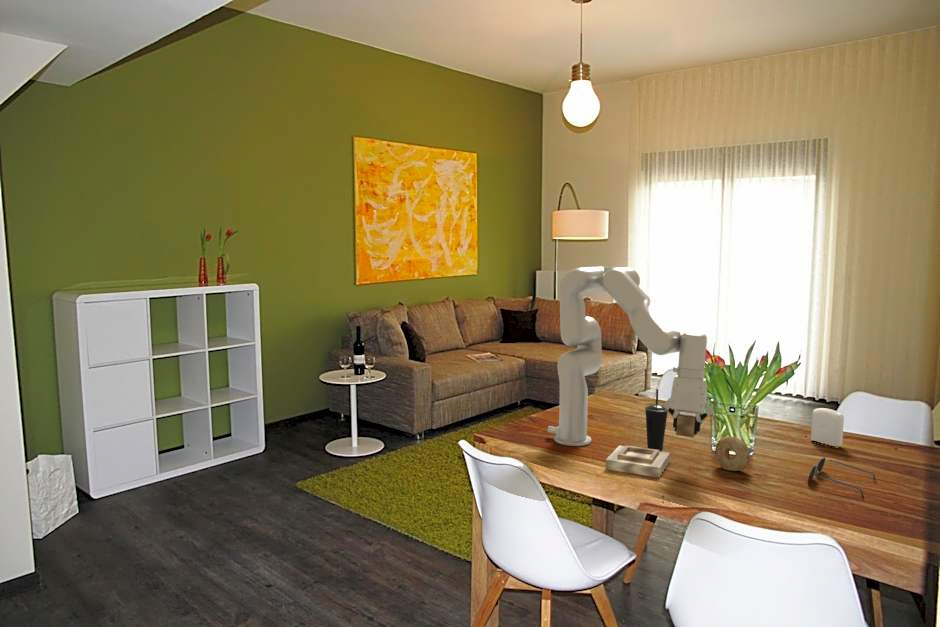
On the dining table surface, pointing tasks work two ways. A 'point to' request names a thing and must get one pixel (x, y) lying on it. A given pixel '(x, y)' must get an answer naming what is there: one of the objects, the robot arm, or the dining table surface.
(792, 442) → the dining table surface
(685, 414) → the walnut block
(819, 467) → the sunglasses
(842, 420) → the photo printer
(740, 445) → the stone disc
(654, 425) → the drinking cup
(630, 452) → the base
